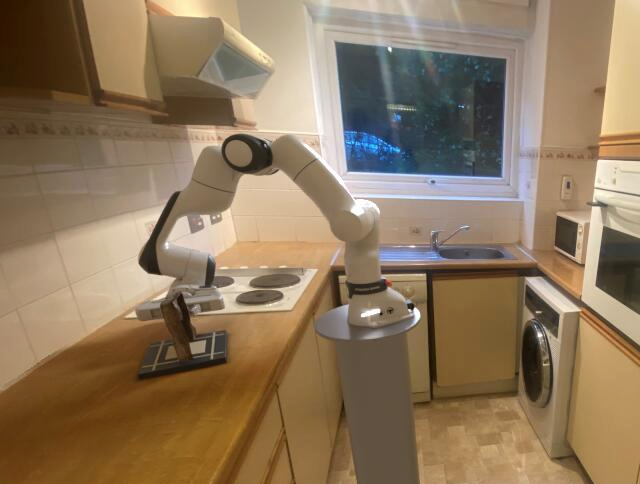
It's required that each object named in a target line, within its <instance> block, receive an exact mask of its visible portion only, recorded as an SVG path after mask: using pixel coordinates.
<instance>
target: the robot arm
mask: <svg viewBox="0 0 640 484" xmlns="http://www.w3.org/2000/svg"><path fill="white" fill-rule="evenodd" d="M279 171H280V172H282V173H284V174H285V175H286V176H287V177H288V178H289V179H290V180H291V181H292V182H293V183H294V185H296V186H297V187H298V189H300V190H301V191H302V192H303V193H304V194H305V195H306V196H307V197H308V198H309V199H310V200H311V202H312V203H314V204H315V206H316V208H317V209H318V210H319V211H320V213H321V215H322V216H323V217H324V218H325V220H326V222H327V224H328V225H329V228H330V232H331V233H332V235H333V236H334V238H336V239H337V240H339V241H340V242H344V244H345V246H344V253H343V265H344V271H345V291H346V296H347V298H348V304H349V308H348V317H347V322H348V323H349V324H351V325H355V326H365V327H370V328H378V327H382V326H385V325H389V324H393V323H396V322H400V321H403V320H407V319H411V318H414V316H415V312H414V308H416V305H415V304H414V303H413V302H412V300H411V299H406V298H405V297H404V296H403V294H402V293H400V292H398V291H396V290H394V289H393V288H391V287H392V286H393V282H392V281H391V279H388V278H387V277H384V276H382V270H381V269H382V268H381V259H380V243H381V242H380V241H381V224H380V223H381V211H380V209H379V207H378V206H377V205H376V204H375V203H374V202H372V201H369V200H366V199H355V198H354V197H353V196H352V194H351V193H350V191H349V190H348V188H347V186H346V185H345V183H344V180H343V179H342V177H341V176H340V175H339V174H338V173H337V172H336V171H335V170H334V169H333V168H332V167H331V166H330V165H329V164H328V163H327V162H326V161H325V159H323V157H321V156H320V155H319V153H317V151H315V150H314V149H313V148H312V147H310V145H308V144H307V143H306V142H305V141H304V140H302V139H301V138H299V137H298V136H296V135H294V134H291V133H289V134H284V135H281V136H279V137H278V138H276V139H275V140H274V141H271V140H269V139H267V138H264V137H261V136H258V135H255V134H248V133H235V134H231V135H229V136H227V137H226V138H225V139H224V140H223V142H222V144H221V146H220V145H207V146H205V147H203V148H202V150H201V152H200V154H199V155H198V158H197V160H196V162H195V164H194V168H193V171H192V174H191V178H190V181H189V183H188V184H187V186H186V187H185V188H183V189H182V190H178V191H177V190H176V191H174V192H173V193H172V194H171V196H170V197H169V198H168V200H167V202H166V204H165V206H164V208H163V209H162V211H161V213H160V214H159V218H158V219H157V221H156V223H155V225H154V228H153V229H152V230H151V234H150V236H149V238H148V239H147V241H146V242H145V243H144V244H143V246H142V247H141V249H140V250H139V253H138V255H137V256H138V257H137V261H138V265H139V266H140V268H141V269H142V270H143V271H144V272H145V273H147V274H148V275H155V276H161V277H162V276H165V277H168V278H174V280H173V281H172V282H171V284H170V286H169V288H168V290H167V293H166V295H165V298H161V299H154V300H146V301H143V302H141V303H140V304H138V305H137V307H135V309H134V312H135V316H136V319H137V320H138V321H139V322H147V321H148V322H149V321H154V320H161V319H164V318H163V315H162V313H161V308H160V304H161V302H163V301H165V300H166V299H170V298H173V297H172V296H173V295H175V294H176V293H178V292H180V291H181V292H182V294H183V296H184V299H185V302H186V304H187V306H188V314H189V317H190V318H191V317H196V316H197V315H198V314H203V313H210V312H216V311H221V310H222V311H223V310H224V309H226V305H225V301H224V297H223V293H221V291H220V290H218V287H217V285H213V282H214V279H215V275H216V268H217V267H216V266H217V263H216V262H217V261H216V260H215V259H214V257H213V256H212V254H211V253H209V252H206V251H201V250H198V249H194V248H192V249H191V248H188V247H184V246H179V245H175V244H172V243H170V242H168V239H169V237H170V236H171V233H172V231H173V229H174V228H175V225H176V223H177V222H178V220H180V219H182V218H185V217H189V216H211V215H219V214H221V213H224V212H226V211H227V210H229V209H230V208H231V206H232V204H233V202H234V199H235V197H236V193H237V190H238V187H239V186H238V185H239V182H240V180H241V178H242V176H244V175H250V176H251V175H252V176H255V177H262V176H271V175H274V174H276V173H278V172H279Z"/></svg>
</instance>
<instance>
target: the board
mask: <svg viewBox="0 0 640 484" xmlns="http://www.w3.org/2000/svg"><path fill="white" fill-rule="evenodd" d="M228 336H229V335H228V331H227V329H224V330H217V331H211V332H206V333H200V334H195V337H196V338H195V339H193V340H189V344H190V349H191V353H192V356H193V358H194V360H190V361H179V360H178V359H177V354H176V351H175V348H174V344H173V342H172V341H171V338H170V339H163V340H158V341H152V342H150V343H149V345H148V347H147V350H146V352H145V355H144V357H143V360H142V362H141V364H140V368H139V370H138V372H137V378H138V379H139V380H145V379H151V378H155V377H160V376H165V375H171V374H175V373H180V372H185V371H191V370H196V369H200V368H201V369H202V368H206V367H210V366H211V367H212V366H216V365H220V364H226V363H227V362H228Z"/></svg>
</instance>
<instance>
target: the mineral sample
mask: <svg viewBox="0 0 640 484" xmlns="http://www.w3.org/2000/svg"><path fill="white" fill-rule="evenodd" d="M172 297H173V298H170V299H166V300H165V301H163V302H161V304H160V308H161V313H162V315H163V318H162V319H163V321H164V324H165V326H166V329H167V332H168V333H169V336H170V339H171V341H172V342H173V344H174V348H175V351H176V354H177V359H178V360H179V361H190V360H194V358H193V356H192V353H191V349H190V344H189V340H193V339H195V338H196V337H195V335H196V334H197V329H196V326H194V325H193V323H192V321H191V317H189V314H188V306H187V304H186V302H185V299H184V296H183V294H182V292H181V291H180V292H178V293H176V294H175V295H173V296H172Z"/></svg>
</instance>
